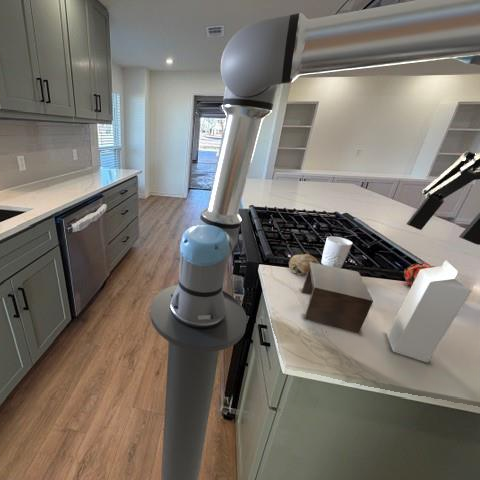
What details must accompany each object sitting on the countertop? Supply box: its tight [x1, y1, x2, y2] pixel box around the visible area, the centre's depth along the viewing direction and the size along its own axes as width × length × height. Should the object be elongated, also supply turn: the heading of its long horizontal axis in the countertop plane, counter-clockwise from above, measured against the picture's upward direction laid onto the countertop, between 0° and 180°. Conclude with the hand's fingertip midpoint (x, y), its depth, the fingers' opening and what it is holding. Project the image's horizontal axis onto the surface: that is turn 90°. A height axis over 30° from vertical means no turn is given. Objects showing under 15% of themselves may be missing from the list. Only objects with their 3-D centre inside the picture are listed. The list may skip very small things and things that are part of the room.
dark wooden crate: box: [301, 262, 374, 335], centre depth 69 cm, size 12×15×10 cm
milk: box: [386, 259, 472, 363], centre depth 54 cm, size 6×6×22 cm
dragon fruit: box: [403, 262, 436, 287], centre depth 82 cm, size 8×8×12 cm
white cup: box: [320, 236, 353, 268], centre depth 94 cm, size 8×8×10 cm
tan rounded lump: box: [288, 253, 321, 277], centre depth 90 cm, size 10×10×8 cm
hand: (437, 233), depth 49 cm, fingers open, 13 cm apart
